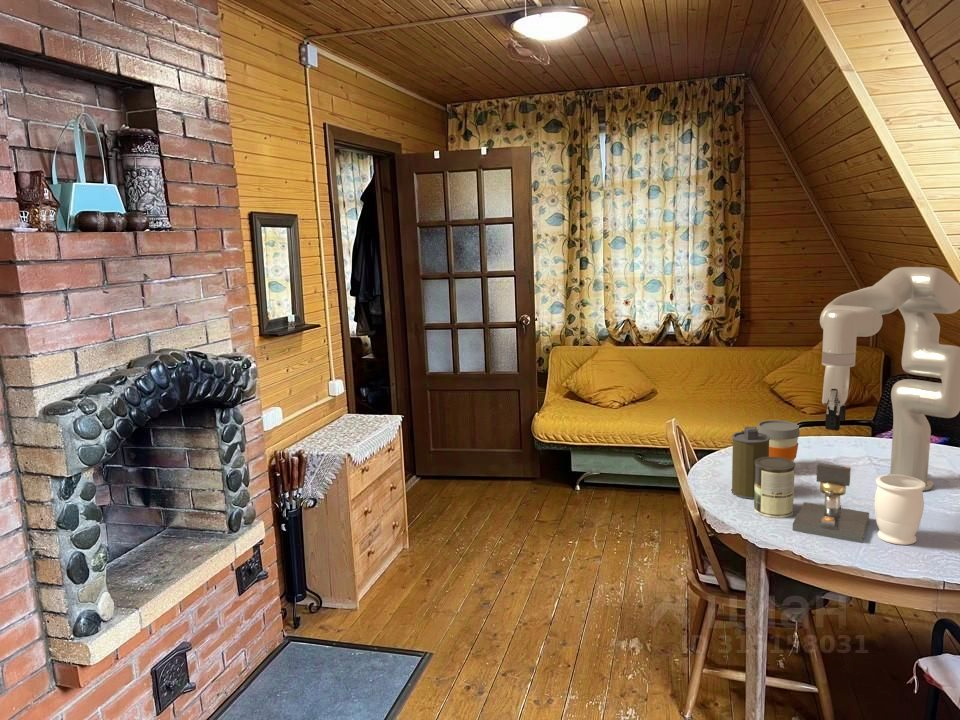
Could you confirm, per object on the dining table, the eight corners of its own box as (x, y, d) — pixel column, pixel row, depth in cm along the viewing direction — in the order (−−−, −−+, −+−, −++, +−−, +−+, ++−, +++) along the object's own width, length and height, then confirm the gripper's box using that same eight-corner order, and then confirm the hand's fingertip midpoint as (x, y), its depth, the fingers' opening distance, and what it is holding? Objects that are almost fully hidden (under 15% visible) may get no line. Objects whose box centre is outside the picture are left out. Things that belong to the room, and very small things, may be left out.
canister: (773, 499, 208) (775, 432, 204) (737, 499, 209) (738, 433, 205) (761, 485, 219) (762, 421, 215) (726, 486, 219) (727, 423, 216)
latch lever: (819, 483, 193) (820, 458, 192) (851, 488, 189) (852, 462, 188) (813, 494, 186) (814, 468, 185) (846, 499, 182) (847, 473, 181)
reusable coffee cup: (760, 477, 226) (761, 430, 223) (752, 463, 238) (753, 420, 235) (803, 477, 224) (804, 430, 221) (792, 464, 236) (793, 419, 233)
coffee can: (745, 509, 202) (746, 460, 200) (771, 501, 207) (772, 454, 204) (775, 521, 193) (776, 471, 191) (801, 513, 198) (803, 463, 195)
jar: (904, 528, 185) (908, 472, 182) (930, 546, 175) (935, 487, 172) (864, 530, 185) (867, 475, 182) (887, 548, 175) (891, 489, 172)
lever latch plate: (803, 509, 200) (805, 478, 198) (869, 519, 191) (870, 487, 190) (792, 530, 187) (793, 497, 185) (861, 542, 178) (863, 508, 177)
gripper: (827, 352, 190) (824, 415, 193) (816, 364, 176) (813, 431, 179) (859, 354, 186) (856, 418, 189) (850, 366, 172) (847, 435, 175)
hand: (835, 424), depth 184 cm, fingers open, 9 cm apart
